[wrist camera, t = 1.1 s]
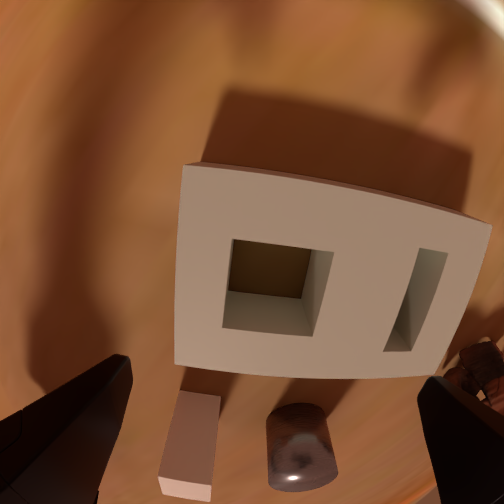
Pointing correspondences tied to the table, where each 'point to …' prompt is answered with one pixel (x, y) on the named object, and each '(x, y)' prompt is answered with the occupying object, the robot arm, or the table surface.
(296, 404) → the round dowel
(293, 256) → the table surface
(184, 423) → the square peg
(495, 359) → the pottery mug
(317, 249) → the socket block
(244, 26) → the table surface
